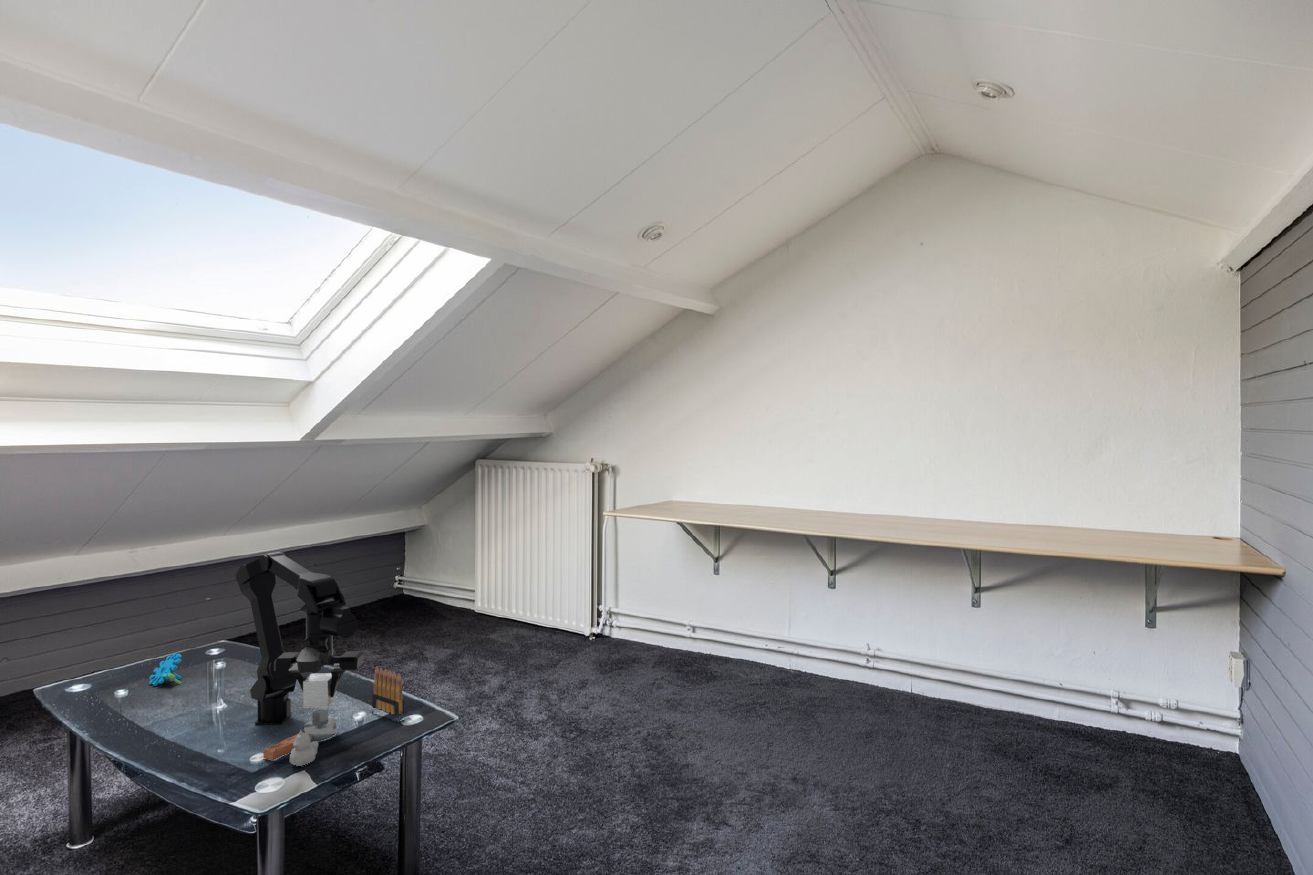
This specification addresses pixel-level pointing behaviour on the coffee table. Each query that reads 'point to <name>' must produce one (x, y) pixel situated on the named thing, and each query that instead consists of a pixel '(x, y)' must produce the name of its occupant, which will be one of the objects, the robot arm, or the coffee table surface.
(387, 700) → the ammunition clip
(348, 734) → the coffee table surface
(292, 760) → the rubber duck
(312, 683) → the small white cube
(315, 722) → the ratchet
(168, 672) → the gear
